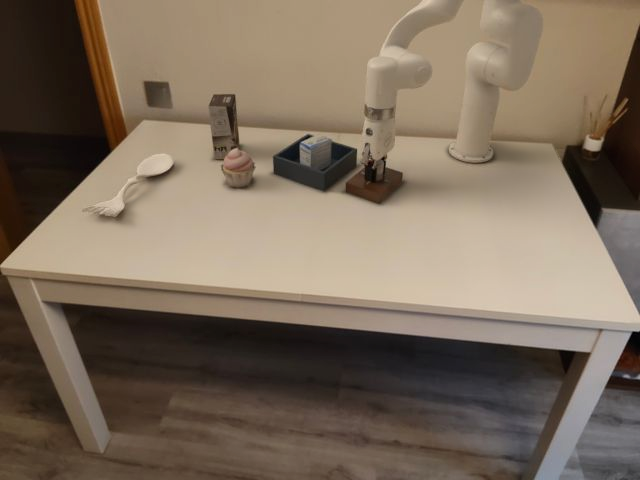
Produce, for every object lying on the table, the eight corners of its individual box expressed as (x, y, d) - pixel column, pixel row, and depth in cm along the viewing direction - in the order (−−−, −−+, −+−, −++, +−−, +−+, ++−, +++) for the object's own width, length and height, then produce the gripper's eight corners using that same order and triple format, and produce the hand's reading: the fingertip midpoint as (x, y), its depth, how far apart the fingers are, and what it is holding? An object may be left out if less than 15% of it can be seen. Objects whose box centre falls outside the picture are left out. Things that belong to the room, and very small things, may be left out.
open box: (307, 150, 161) (307, 133, 158) (356, 166, 154) (357, 148, 150) (273, 173, 150) (272, 156, 146) (324, 191, 142) (324, 173, 139)
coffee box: (236, 160, 156) (231, 106, 146) (213, 159, 156) (207, 106, 146) (240, 145, 163) (236, 93, 153) (219, 145, 163) (213, 93, 153)
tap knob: (382, 173, 144) (383, 157, 141) (382, 181, 141) (384, 164, 138) (367, 173, 144) (368, 156, 141) (367, 180, 141) (368, 164, 138)
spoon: (83, 220, 131) (80, 208, 129) (151, 159, 156) (149, 148, 154) (116, 226, 129) (113, 214, 127) (180, 163, 154) (178, 152, 152)
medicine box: (320, 161, 155) (320, 132, 150) (331, 166, 152) (331, 138, 147) (299, 170, 150) (299, 141, 145) (310, 176, 148) (310, 147, 143)
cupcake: (262, 186, 144) (260, 152, 138) (228, 194, 141) (224, 159, 135) (250, 170, 151) (247, 137, 145) (217, 177, 148) (213, 144, 142)
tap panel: (369, 171, 151) (370, 161, 149) (402, 182, 146) (403, 172, 145) (345, 192, 142) (345, 181, 140) (378, 204, 138) (379, 193, 136)
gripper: (376, 126, 124) (371, 195, 135) (409, 102, 136) (401, 167, 147) (348, 118, 128) (345, 186, 138) (382, 96, 139) (377, 160, 150)
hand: (374, 176), depth 142 cm, fingers closed on tap knob, 4 cm apart
